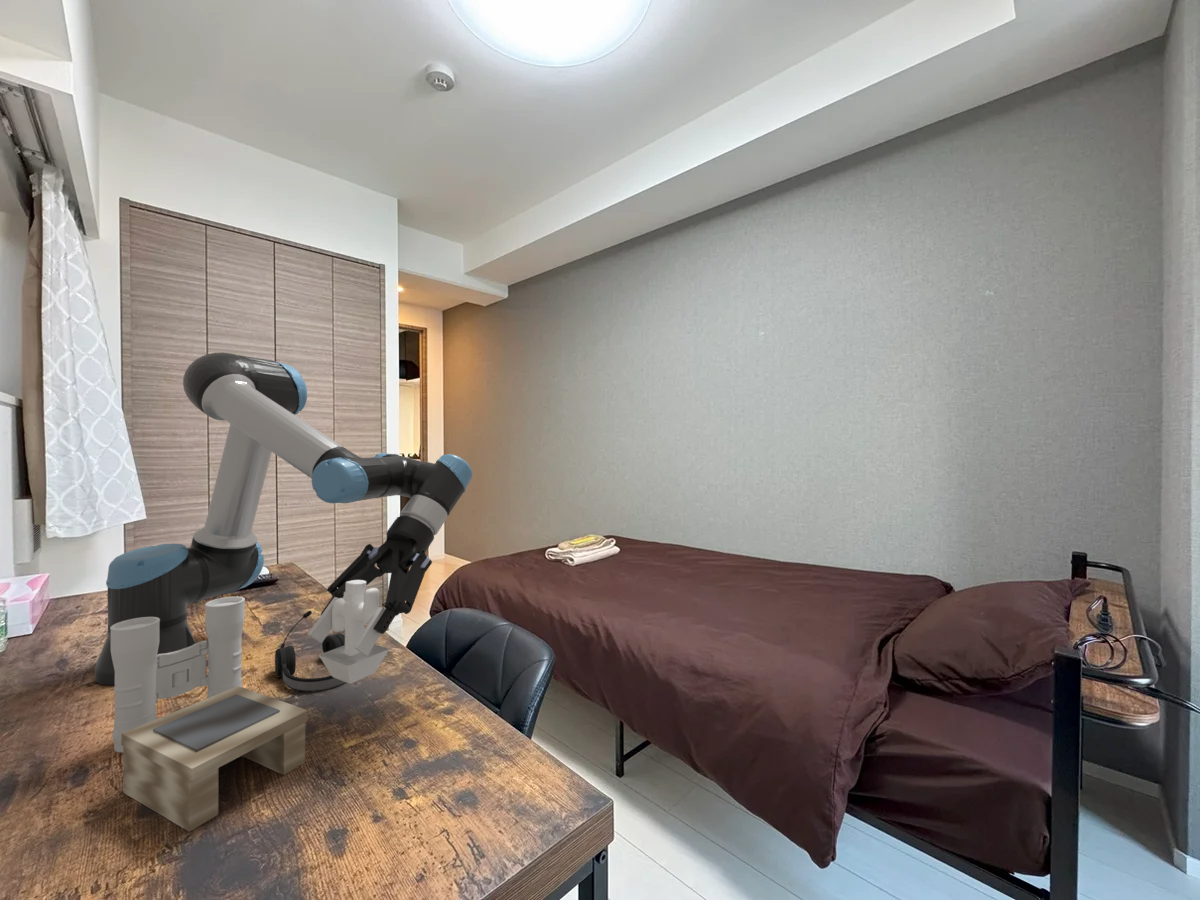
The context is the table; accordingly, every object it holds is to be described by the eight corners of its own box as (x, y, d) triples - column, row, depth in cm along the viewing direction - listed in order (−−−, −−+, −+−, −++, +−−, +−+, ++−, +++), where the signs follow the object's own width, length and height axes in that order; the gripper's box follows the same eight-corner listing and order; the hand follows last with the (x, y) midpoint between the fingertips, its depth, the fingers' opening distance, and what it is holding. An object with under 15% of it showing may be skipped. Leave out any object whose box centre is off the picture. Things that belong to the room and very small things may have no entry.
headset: (335, 604, 109) (372, 638, 96) (333, 644, 110) (370, 683, 97) (265, 619, 100) (296, 659, 87) (264, 663, 100) (294, 709, 87)
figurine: (355, 659, 85) (357, 571, 84) (393, 673, 80) (395, 580, 80) (313, 676, 78) (315, 581, 78) (352, 692, 74) (353, 591, 73)
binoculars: (234, 695, 89) (234, 594, 88) (251, 703, 86) (251, 599, 86) (103, 747, 73) (103, 625, 73) (119, 758, 71) (119, 632, 71)
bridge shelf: (121, 791, 64) (121, 731, 64) (238, 734, 77) (238, 684, 77) (191, 833, 57) (192, 766, 57) (307, 763, 70) (307, 708, 70)
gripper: (475, 545, 88) (403, 670, 74) (384, 532, 97) (305, 642, 83) (455, 519, 83) (374, 648, 69) (361, 508, 92) (273, 620, 78)
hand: (336, 645), depth 76 cm, fingers closed on figurine, 9 cm apart
